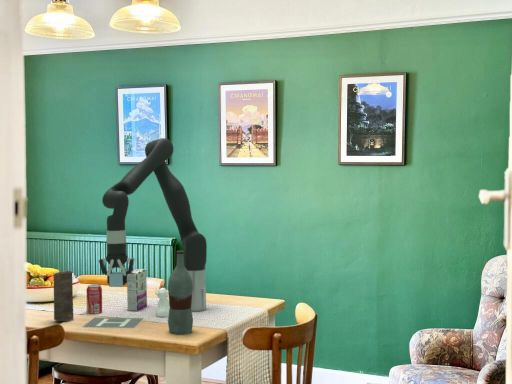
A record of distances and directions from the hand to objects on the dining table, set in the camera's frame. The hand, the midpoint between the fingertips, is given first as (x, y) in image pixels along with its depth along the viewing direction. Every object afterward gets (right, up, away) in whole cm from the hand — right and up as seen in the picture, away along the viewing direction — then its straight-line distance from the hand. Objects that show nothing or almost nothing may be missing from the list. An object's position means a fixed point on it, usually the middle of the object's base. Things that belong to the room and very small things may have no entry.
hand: (117, 284), depth 259 cm
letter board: (-1, -15, -3) cm, 15 cm away
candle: (-22, -15, +2) cm, 26 cm away
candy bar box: (+3, -14, +26) cm, 30 cm away
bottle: (+26, -16, -15) cm, 34 cm away
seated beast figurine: (+17, -15, +10) cm, 25 cm away
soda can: (-13, -15, +15) cm, 25 cm away
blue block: (0, 0, 0) cm, 0 cm away
